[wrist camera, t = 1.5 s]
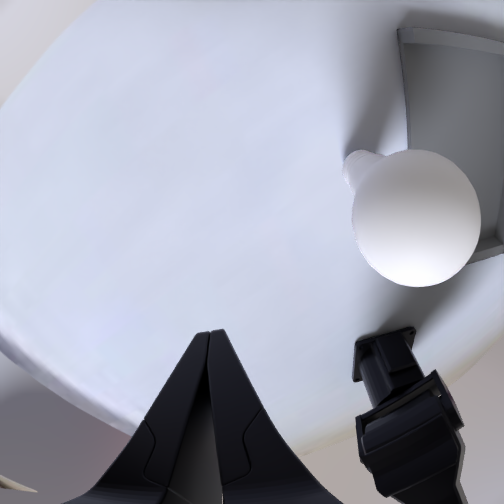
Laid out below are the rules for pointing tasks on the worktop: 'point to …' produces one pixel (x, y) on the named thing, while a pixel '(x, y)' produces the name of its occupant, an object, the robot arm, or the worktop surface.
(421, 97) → the tray
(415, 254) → the lightbulb
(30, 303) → the worktop surface
